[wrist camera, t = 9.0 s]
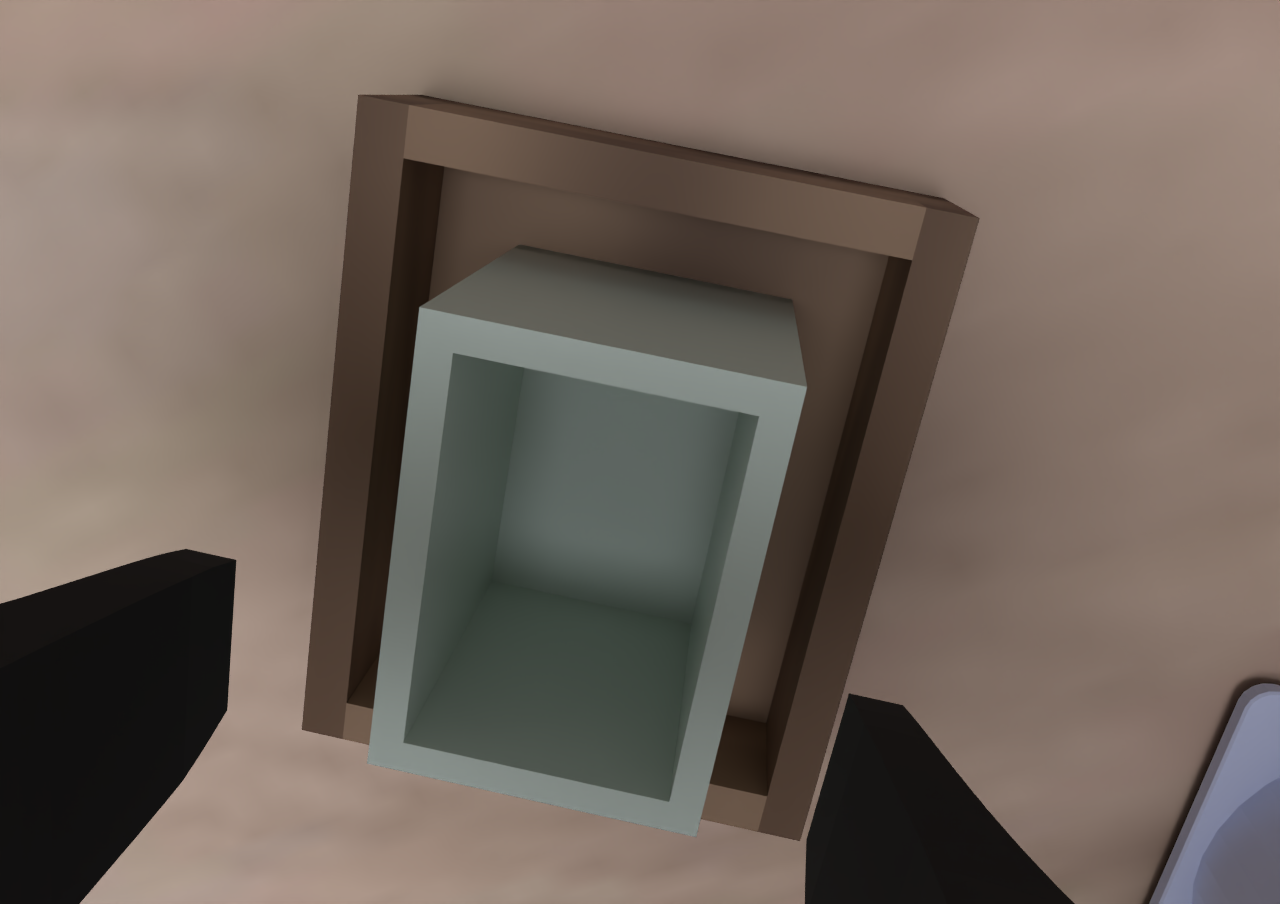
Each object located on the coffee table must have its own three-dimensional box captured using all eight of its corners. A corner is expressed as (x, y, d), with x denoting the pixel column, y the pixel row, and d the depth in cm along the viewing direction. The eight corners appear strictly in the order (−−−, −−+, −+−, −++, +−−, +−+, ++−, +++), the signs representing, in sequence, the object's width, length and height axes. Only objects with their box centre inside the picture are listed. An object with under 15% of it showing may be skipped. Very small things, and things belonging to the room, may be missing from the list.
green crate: (791, 299, 19) (807, 386, 13) (712, 638, 21) (695, 837, 16) (519, 244, 19) (419, 307, 13) (470, 586, 21) (367, 763, 16)
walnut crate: (943, 198, 19) (979, 217, 16) (794, 741, 23) (799, 841, 20) (420, 95, 19) (358, 94, 16) (361, 646, 23) (302, 729, 20)
